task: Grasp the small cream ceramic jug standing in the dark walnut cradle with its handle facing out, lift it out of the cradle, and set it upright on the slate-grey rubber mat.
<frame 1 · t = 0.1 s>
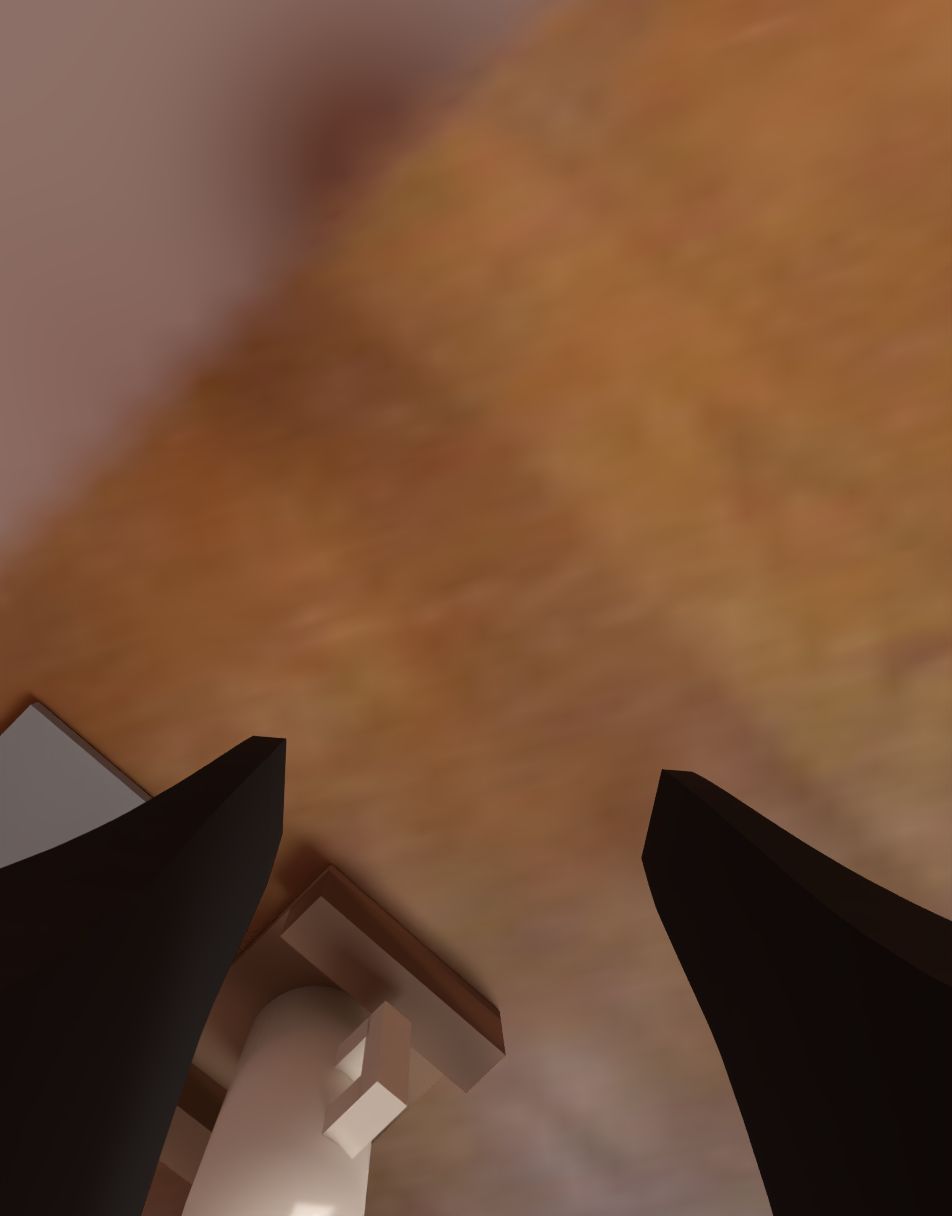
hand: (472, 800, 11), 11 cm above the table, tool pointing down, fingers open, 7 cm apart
cream jug: (314, 1046, 23), resting on walnut cradle
walnut cradle: (316, 1037, 23), on the table
grey mat: (54, 891, 22), on the table
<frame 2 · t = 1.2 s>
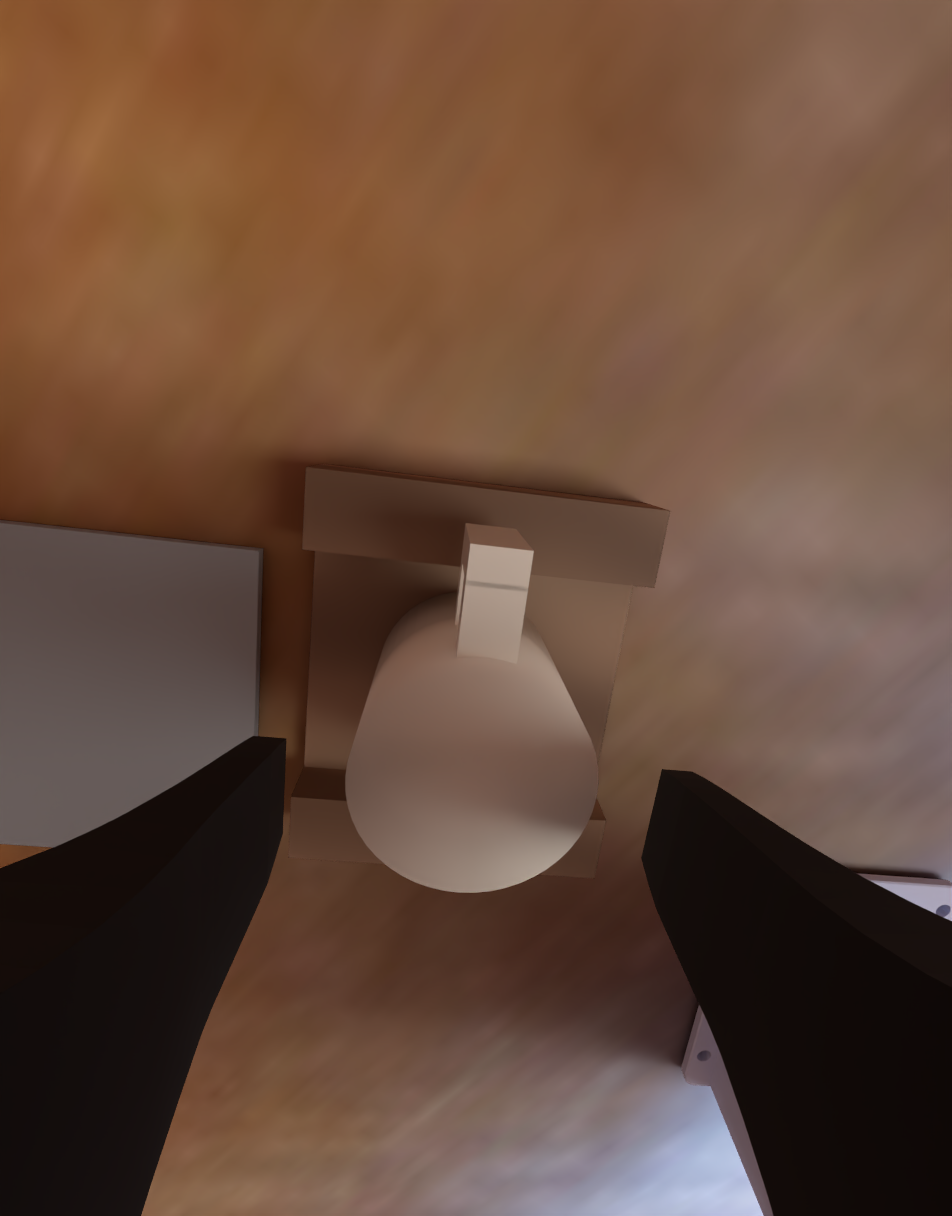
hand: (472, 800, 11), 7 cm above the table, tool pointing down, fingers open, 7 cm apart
cream jug: (464, 673, 18), resting on walnut cradle
walnut cradle: (464, 668, 18), on the table
grey mat: (85, 696, 18), on the table
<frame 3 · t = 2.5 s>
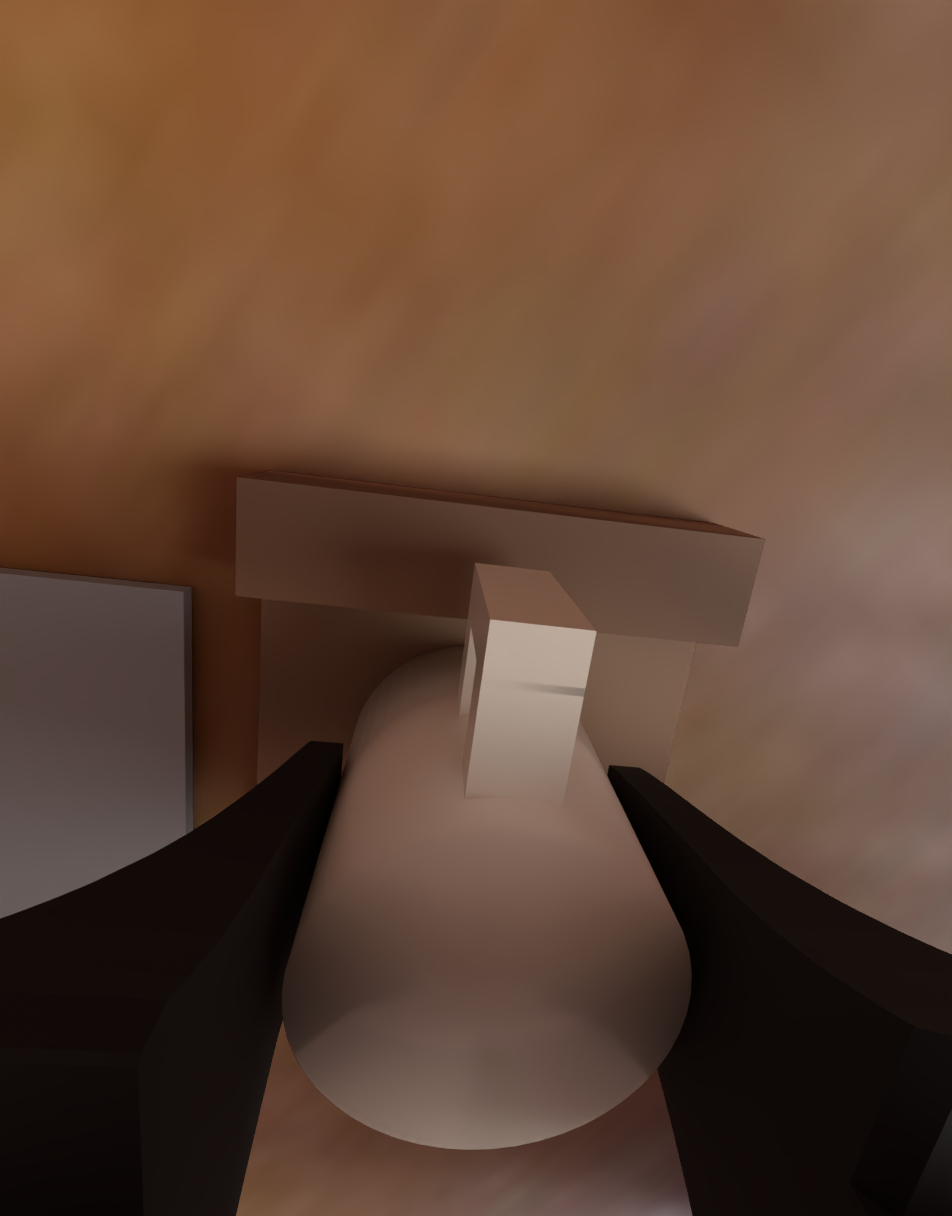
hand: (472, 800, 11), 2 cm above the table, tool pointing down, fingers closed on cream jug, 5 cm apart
cream jug: (468, 752, 13), resting on walnut cradle, touching gripper
walnut cradle: (467, 743, 13), on the table
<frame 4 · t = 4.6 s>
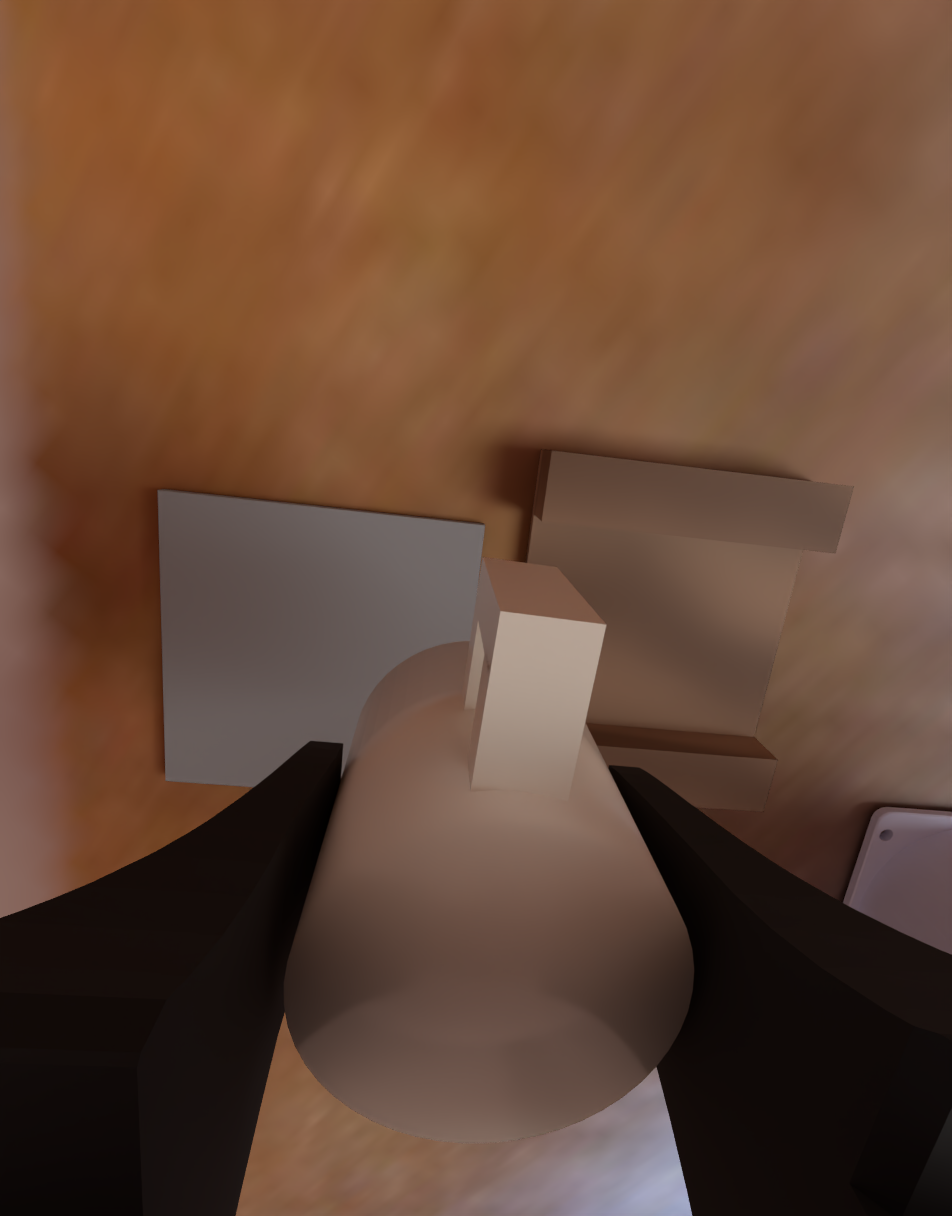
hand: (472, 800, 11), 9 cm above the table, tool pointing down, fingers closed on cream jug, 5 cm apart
cream jug: (470, 748, 13), point 8 cm above the table, touching gripper
walnut cradle: (647, 629, 21), on the table
grey mat: (320, 654, 20), on the table
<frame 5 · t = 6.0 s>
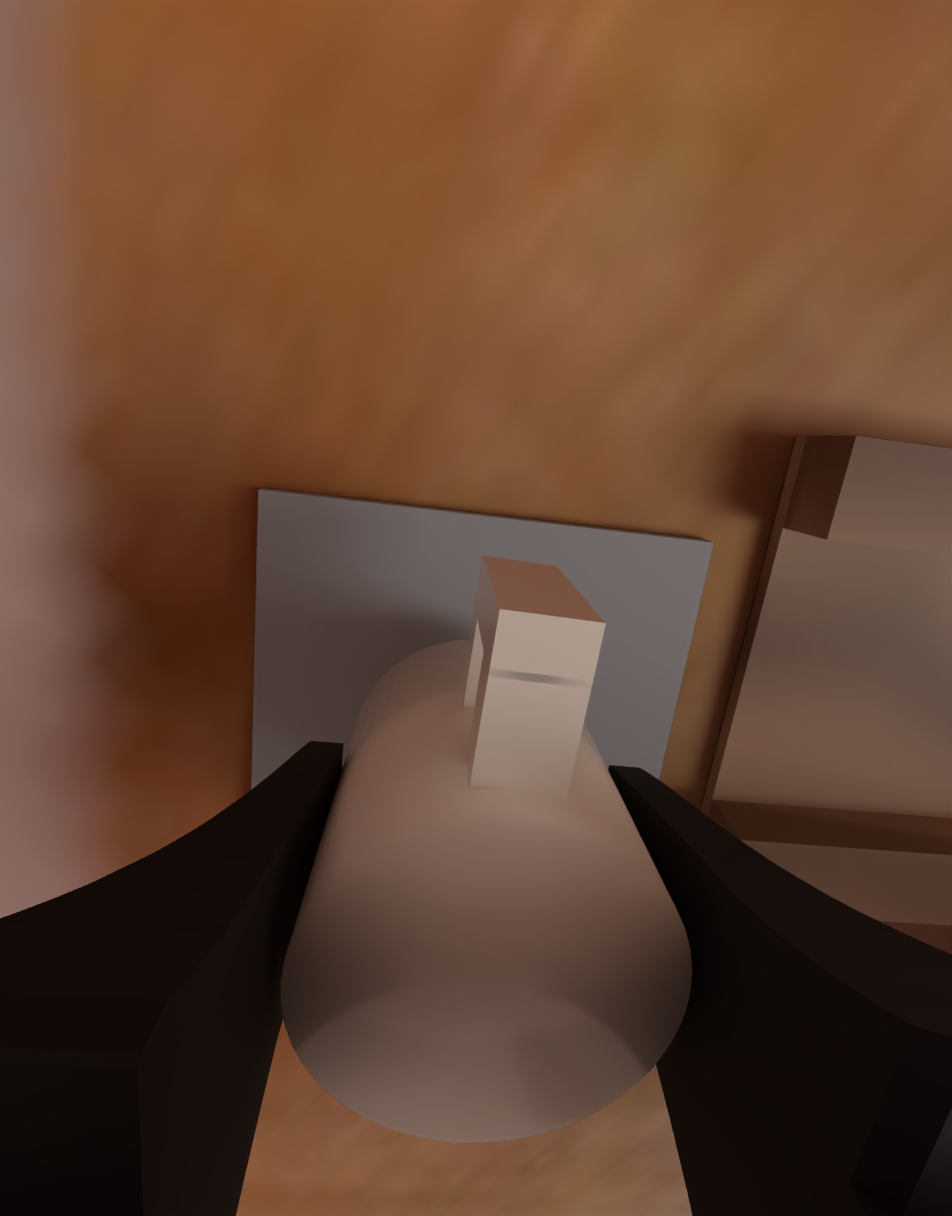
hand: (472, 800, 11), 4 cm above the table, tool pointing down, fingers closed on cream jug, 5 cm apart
cream jug: (469, 748, 13), point 2 cm above the table, touching gripper
walnut cradle: (907, 683, 15), on the table
grey mat: (465, 717, 15), on the table
when the fingers open (3 cm above the table, at t = 6.9 s): cream jug drops 1 cm, resting on grey mat.
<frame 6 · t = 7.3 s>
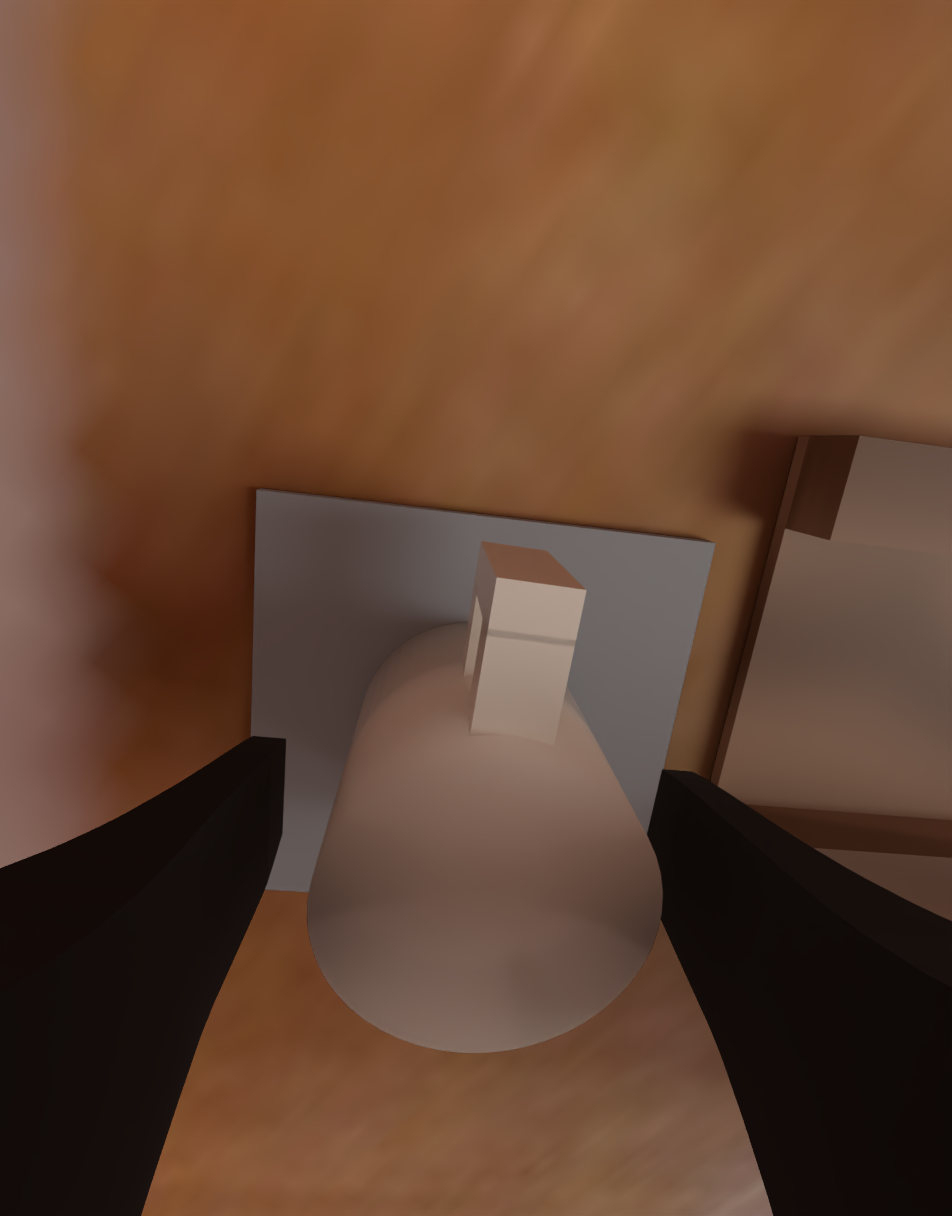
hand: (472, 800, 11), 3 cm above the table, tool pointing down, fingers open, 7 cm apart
cream jug: (467, 723, 14), resting on grey mat
walnut cradle: (910, 684, 15), on the table
grey mat: (465, 719, 15), on the table
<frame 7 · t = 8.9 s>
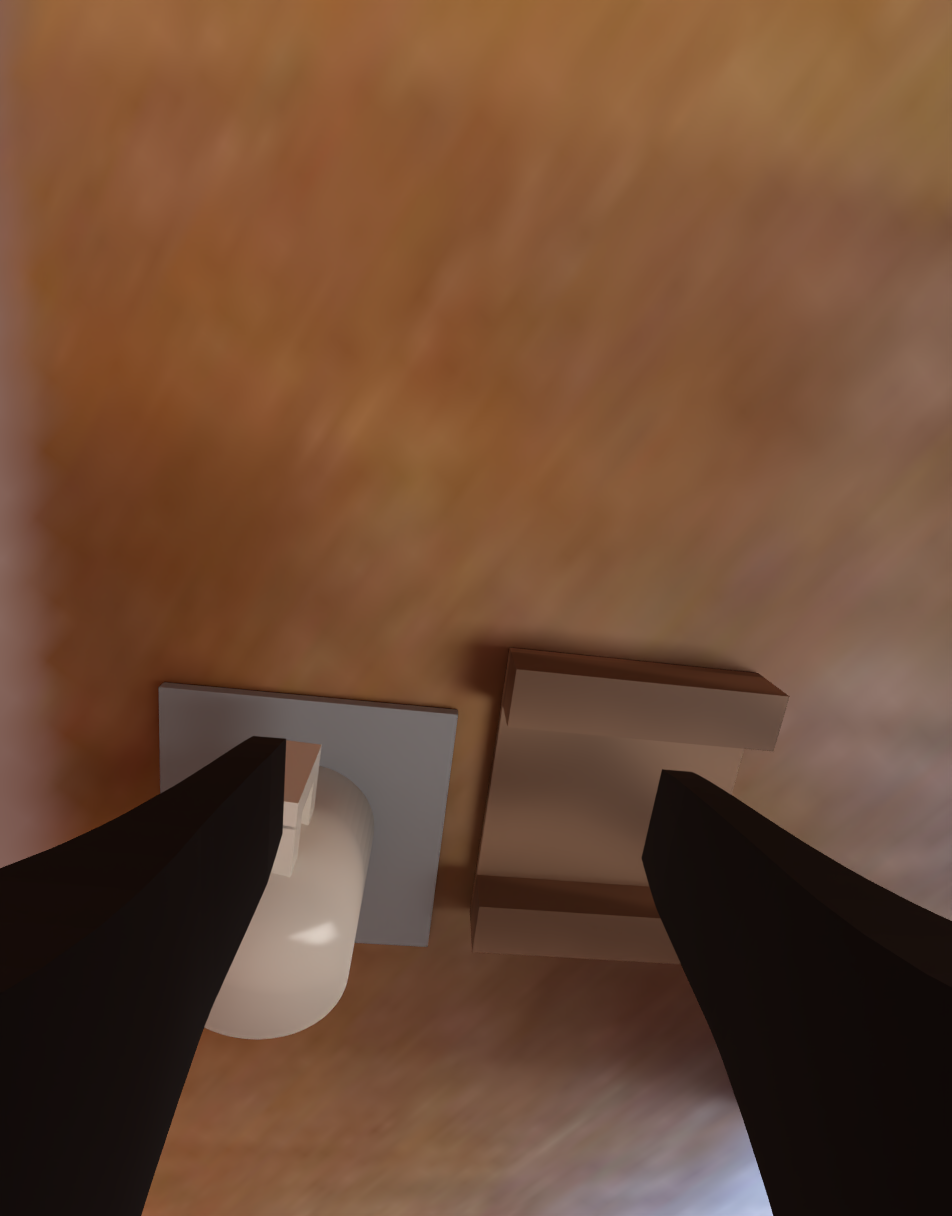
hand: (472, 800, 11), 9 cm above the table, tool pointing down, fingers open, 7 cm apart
cream jug: (304, 825, 22), resting on grey mat
walnut cradle: (607, 797, 22), on the table
grey mat: (306, 820, 22), on the table
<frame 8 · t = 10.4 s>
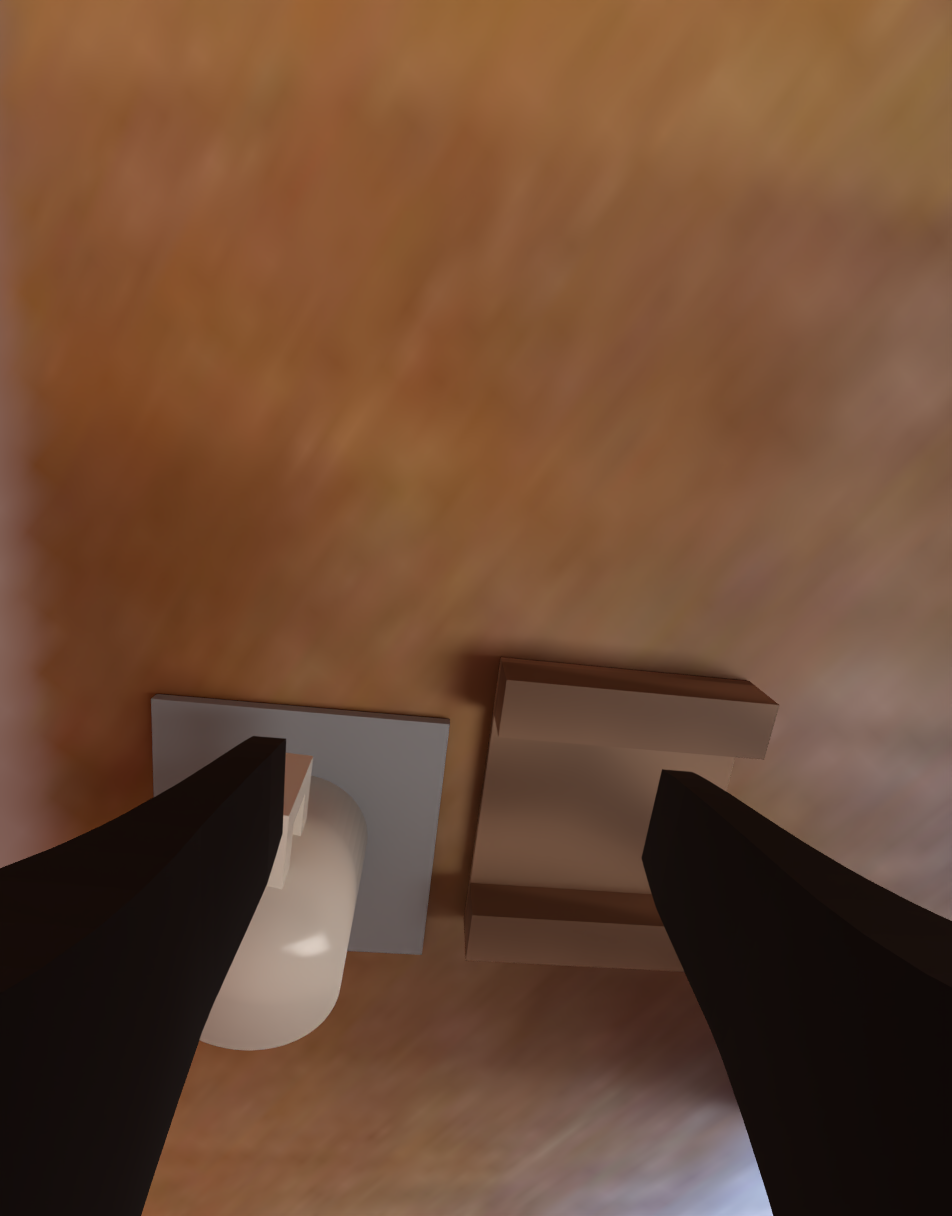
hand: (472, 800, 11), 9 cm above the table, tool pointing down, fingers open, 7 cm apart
cream jug: (297, 834, 22), resting on grey mat
walnut cradle: (599, 805, 22), on the table
grey mat: (299, 830, 22), on the table
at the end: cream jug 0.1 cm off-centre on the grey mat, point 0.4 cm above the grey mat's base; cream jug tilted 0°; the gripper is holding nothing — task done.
